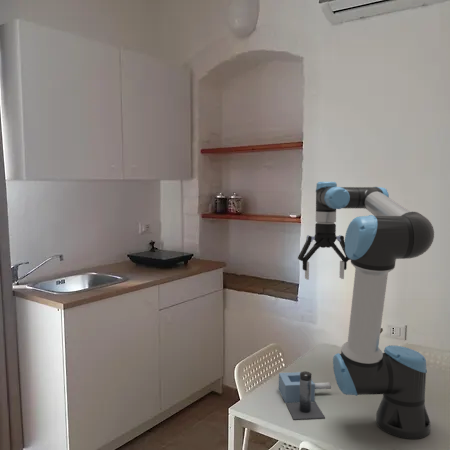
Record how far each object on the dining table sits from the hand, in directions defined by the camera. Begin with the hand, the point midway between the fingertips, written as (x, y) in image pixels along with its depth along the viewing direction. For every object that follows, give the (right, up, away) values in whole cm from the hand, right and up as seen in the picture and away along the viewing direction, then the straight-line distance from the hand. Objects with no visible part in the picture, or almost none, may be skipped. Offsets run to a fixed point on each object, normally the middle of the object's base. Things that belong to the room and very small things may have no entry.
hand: (324, 278), depth 171 cm
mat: (-12, -39, -27) cm, 49 cm away
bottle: (-12, -39, -27) cm, 49 cm away
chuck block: (-10, -38, -16) cm, 42 cm away
